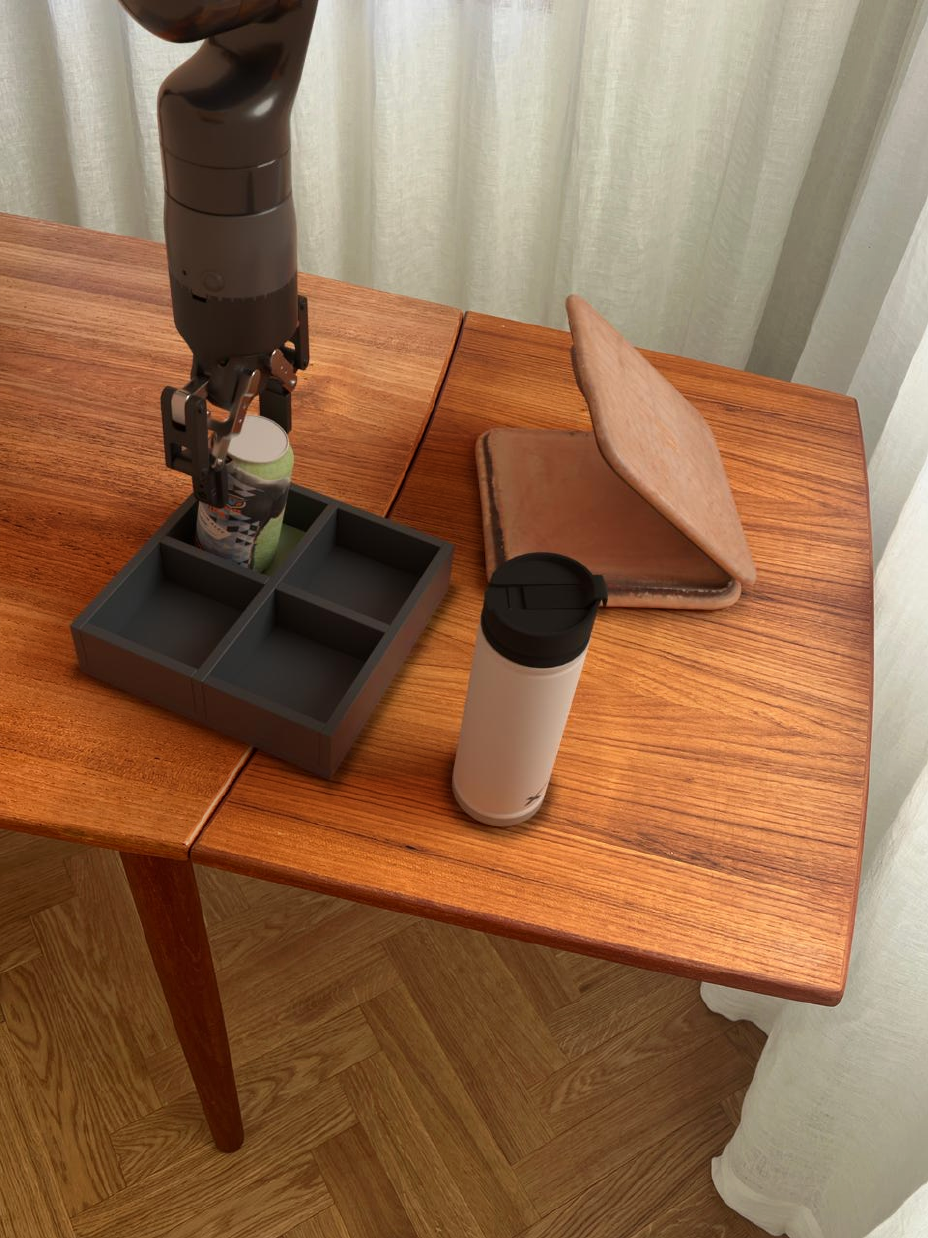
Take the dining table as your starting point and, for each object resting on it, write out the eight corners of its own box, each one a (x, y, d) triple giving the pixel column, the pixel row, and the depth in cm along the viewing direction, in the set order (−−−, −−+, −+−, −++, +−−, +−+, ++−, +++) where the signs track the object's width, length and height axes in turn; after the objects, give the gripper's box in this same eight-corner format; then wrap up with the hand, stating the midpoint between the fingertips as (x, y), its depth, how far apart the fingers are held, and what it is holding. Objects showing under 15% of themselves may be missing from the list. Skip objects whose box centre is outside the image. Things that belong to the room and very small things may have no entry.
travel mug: (554, 828, 73) (617, 630, 58) (454, 829, 72) (491, 628, 57) (543, 748, 77) (600, 544, 62) (448, 748, 76) (482, 541, 61)
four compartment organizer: (80, 672, 77) (68, 625, 73) (228, 504, 89) (225, 456, 85) (330, 780, 73) (331, 737, 69) (448, 589, 86) (455, 544, 82)
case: (753, 617, 87) (824, 461, 75) (487, 610, 84) (516, 448, 72) (702, 446, 100) (756, 290, 88) (471, 435, 98) (494, 274, 86)
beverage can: (190, 535, 85) (175, 410, 76) (285, 521, 87) (282, 397, 78) (204, 594, 81) (190, 470, 72) (303, 578, 83) (302, 456, 74)
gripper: (240, 187, 70) (250, 393, 83) (105, 295, 61) (139, 509, 74) (345, 222, 69) (340, 426, 81) (224, 338, 60) (238, 548, 72)
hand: (245, 465), depth 77 cm, fingers open, 8 cm apart
